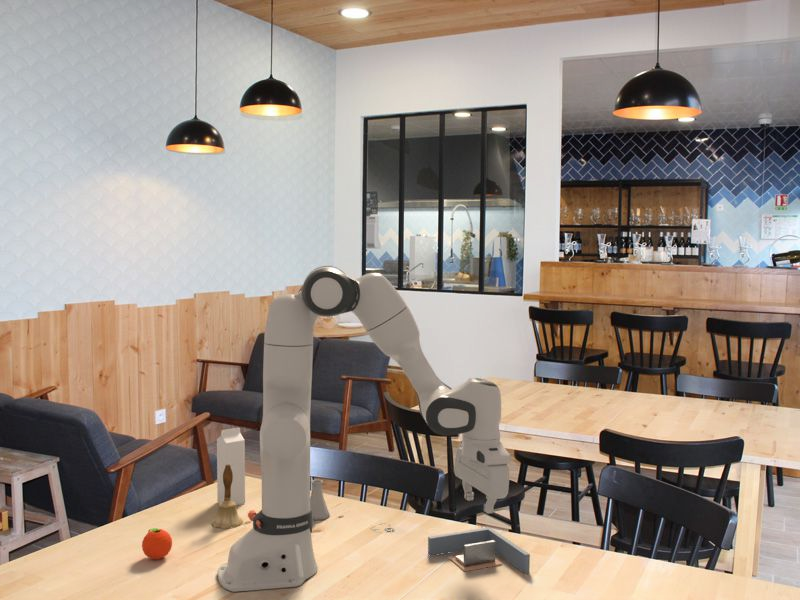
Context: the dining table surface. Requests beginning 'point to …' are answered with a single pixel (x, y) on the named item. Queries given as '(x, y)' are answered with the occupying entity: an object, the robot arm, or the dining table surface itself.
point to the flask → (318, 501)
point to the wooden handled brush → (227, 505)
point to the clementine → (157, 543)
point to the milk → (231, 464)
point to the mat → (475, 565)
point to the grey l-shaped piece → (459, 539)
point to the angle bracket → (477, 554)
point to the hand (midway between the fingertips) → (478, 505)
